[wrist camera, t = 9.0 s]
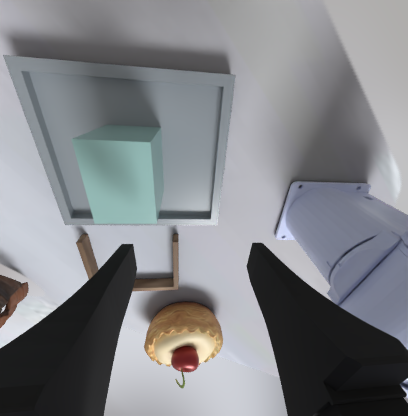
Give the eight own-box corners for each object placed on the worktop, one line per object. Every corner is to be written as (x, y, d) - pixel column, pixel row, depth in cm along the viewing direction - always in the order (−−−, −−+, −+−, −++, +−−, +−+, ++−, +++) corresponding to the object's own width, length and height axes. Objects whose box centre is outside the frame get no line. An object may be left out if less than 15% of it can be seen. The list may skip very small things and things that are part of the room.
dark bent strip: (178, 234, 24) (177, 242, 23) (178, 280, 28) (178, 289, 27) (82, 234, 23) (76, 242, 21) (97, 283, 27) (93, 292, 26)
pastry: (226, 297, 32) (241, 359, 25) (208, 336, 38) (216, 397, 30) (152, 293, 30) (144, 361, 22) (144, 336, 35) (135, 403, 27)
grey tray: (231, 76, 16) (235, 74, 15) (215, 217, 23) (217, 225, 22) (20, 58, 14) (2, 54, 13) (72, 216, 21) (65, 224, 20)
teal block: (161, 127, 17) (150, 142, 12) (164, 189, 20) (156, 223, 15) (106, 124, 16) (71, 139, 11) (118, 189, 19) (94, 223, 14)
